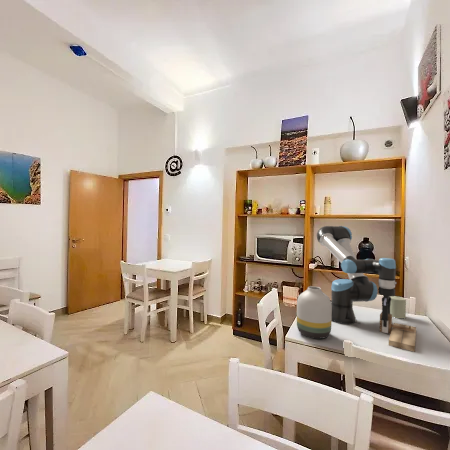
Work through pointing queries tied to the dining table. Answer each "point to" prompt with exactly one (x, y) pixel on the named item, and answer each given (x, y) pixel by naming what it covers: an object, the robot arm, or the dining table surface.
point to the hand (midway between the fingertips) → (385, 330)
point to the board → (403, 338)
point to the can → (398, 307)
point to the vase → (314, 313)
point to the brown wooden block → (393, 325)
